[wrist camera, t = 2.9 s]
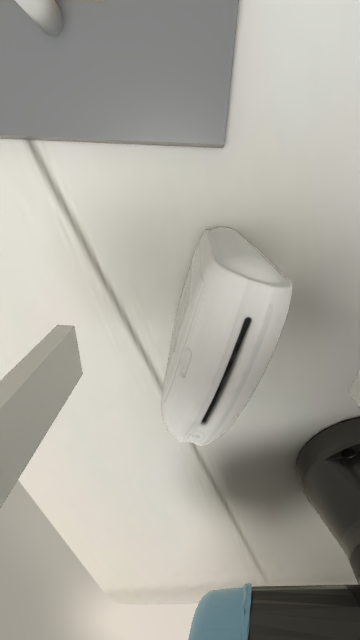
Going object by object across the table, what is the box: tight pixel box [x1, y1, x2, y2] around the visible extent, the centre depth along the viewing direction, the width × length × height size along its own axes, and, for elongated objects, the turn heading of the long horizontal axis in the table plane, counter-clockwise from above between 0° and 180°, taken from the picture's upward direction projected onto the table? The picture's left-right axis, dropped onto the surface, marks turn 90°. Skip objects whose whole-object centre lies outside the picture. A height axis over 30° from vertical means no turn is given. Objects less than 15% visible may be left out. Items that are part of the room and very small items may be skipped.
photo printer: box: [161, 227, 293, 446], centre depth 16 cm, size 10×4×12 cm, turn 165°
